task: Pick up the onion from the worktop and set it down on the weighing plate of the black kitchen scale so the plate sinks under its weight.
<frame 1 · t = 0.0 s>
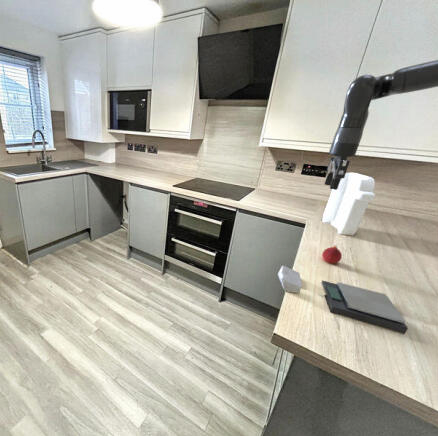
hand: (330, 187, 88), 29 cm above the worktop, tool pointing down, fingers open, 8 cm apart
scale: (357, 306, 69), on the worktop
scale plate: (367, 300, 68), point 3 cm above the worktop, slide at 0.0 cm
onion: (328, 264, 92), on the worktop
white stepped block: (339, 228, 130), on the worktop
light grey faceted block: (287, 284, 78), on the worktop
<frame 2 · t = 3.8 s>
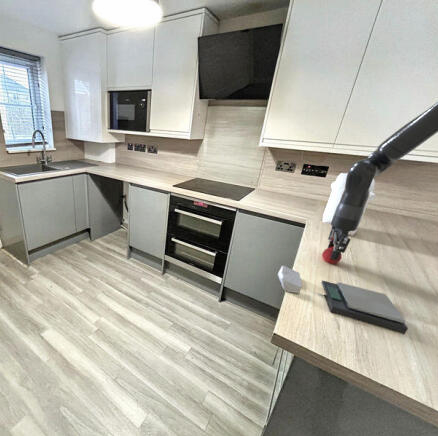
hand: (331, 255, 91), 4 cm above the worktop, tool pointing down, fingers closed on onion, 6 cm apart
onion: (328, 264, 92), on the worktop, touching gripper
everything else where it was.
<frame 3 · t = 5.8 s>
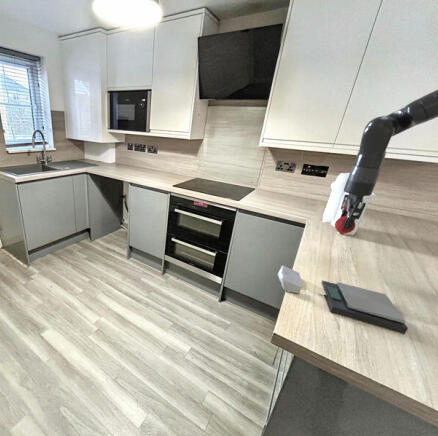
hand: (344, 225, 86), 17 cm above the worktop, tool pointing down, fingers closed on onion, 6 cm apart
onion: (341, 234, 87), point 13 cm above the worktop, touching gripper
everything else where it was.
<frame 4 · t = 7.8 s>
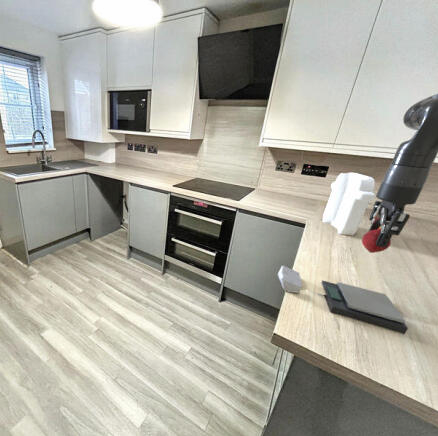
hand: (375, 241, 67), 19 cm above the worktop, tool pointing down, fingers closed on onion, 6 cm apart
onion: (370, 253, 68), point 16 cm above the worktop, touching gripper
everything else where it was.
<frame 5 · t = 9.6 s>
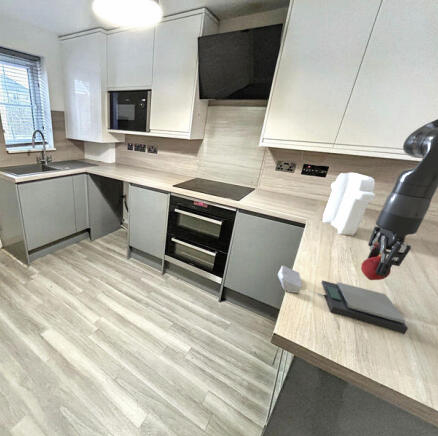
hand: (375, 268, 65), 13 cm above the worktop, tool pointing down, fingers closed on onion, 6 cm apart
onion: (369, 280, 66), point 9 cm above the worktop, touching gripper
everything else where it was.
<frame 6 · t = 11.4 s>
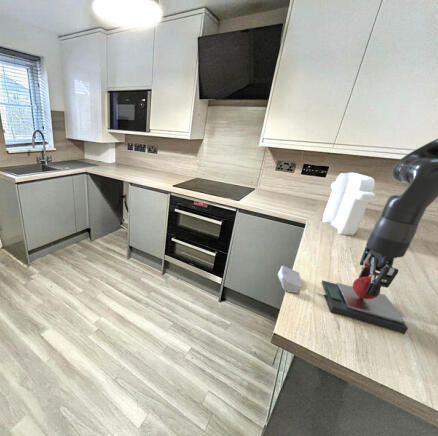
hand: (366, 288, 67), 7 cm above the worktop, tool pointing down, fingers closed on onion, 5 cm apart
scale plate: (366, 301, 68), point 3 cm above the worktop, slide at -0.3 cm, touching onion
onion: (360, 298, 68), point 3 cm above the worktop, touching gripper, scale plate
everything else where it was.
when the fingers open (7 cm above the worktop, at t = 11.7 s): onion stays where it is, resting on scale plate.
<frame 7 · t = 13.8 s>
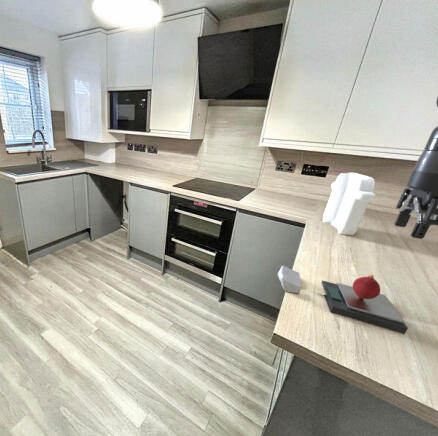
hand: (407, 231, 62), 24 cm above the worktop, tool pointing down, fingers open, 8 cm apart
onion: (360, 299, 68), point 3 cm above the worktop, touching scale plate
everything else where it was.
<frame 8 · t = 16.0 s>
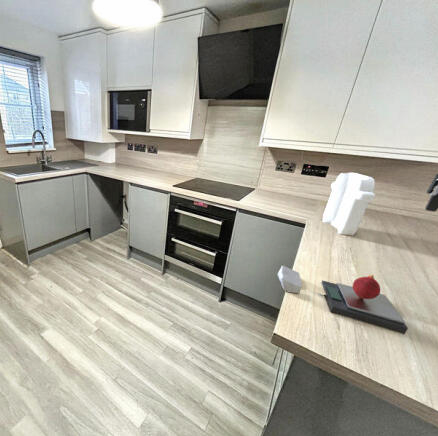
nothing on the worktop moved.
at the end: onion inside the target area on the scale (1.5 cm from its centre), point 2.8 cm above the scale's base; onion touching scale plate; the gripper is holding nothing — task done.
